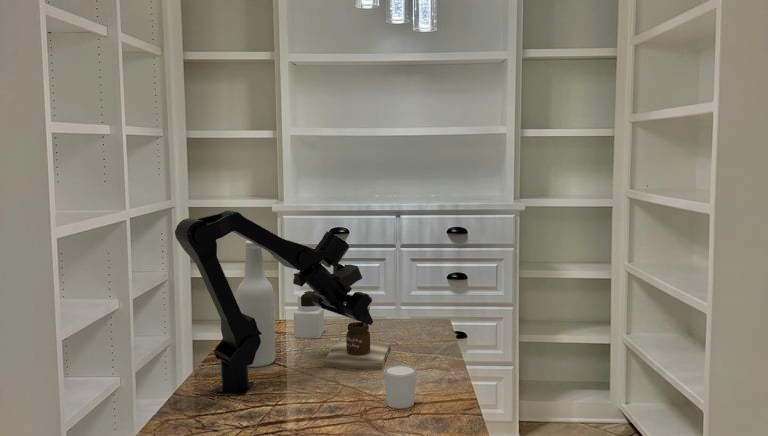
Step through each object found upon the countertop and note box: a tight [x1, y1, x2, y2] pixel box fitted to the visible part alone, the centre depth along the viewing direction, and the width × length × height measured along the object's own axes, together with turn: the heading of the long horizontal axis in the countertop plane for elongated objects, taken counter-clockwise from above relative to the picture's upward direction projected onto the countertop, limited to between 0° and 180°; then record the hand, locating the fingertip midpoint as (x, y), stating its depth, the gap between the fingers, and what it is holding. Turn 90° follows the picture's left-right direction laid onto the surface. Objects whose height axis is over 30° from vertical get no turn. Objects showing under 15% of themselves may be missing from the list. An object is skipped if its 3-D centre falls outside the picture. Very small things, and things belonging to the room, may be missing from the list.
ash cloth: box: [323, 340, 391, 370], centre depth 167 cm, size 16×14×2 cm
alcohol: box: [236, 240, 277, 368], centre depth 162 cm, size 9×9×30 cm
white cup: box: [383, 364, 418, 410], centre depth 137 cm, size 7×7×7 cm
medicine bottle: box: [293, 290, 325, 339], centre depth 186 cm, size 7×7×12 cm
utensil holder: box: [345, 305, 371, 355], centre depth 165 cm, size 6×6×12 cm
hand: (360, 319), depth 166 cm, fingers open, 9 cm apart
